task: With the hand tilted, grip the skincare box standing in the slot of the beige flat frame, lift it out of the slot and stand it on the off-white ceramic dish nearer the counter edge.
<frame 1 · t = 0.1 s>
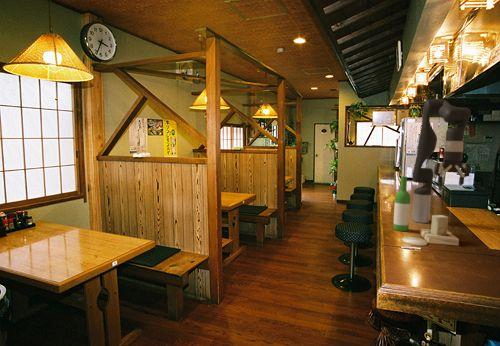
hand: (450, 184, 153), 29 cm above the counter, tool pointing down, fingers open, 8 cm apart
beige flat frame: (438, 239, 163), on the counter
dish: (414, 242, 159), on the counter
skincare box: (438, 239, 163), resting in beige flat frame
wine bottle: (400, 230, 180), on the counter
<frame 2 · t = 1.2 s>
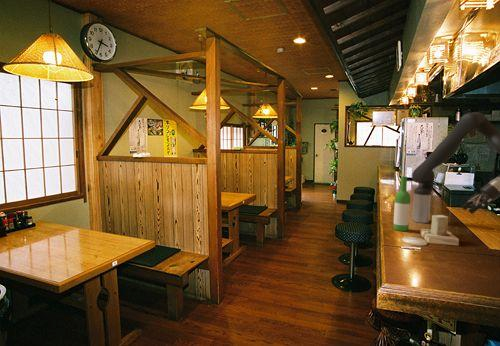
hand: (466, 210, 159), 16 cm above the counter, tool tilted 45°, fingers open, 8 cm apart
nothing on the counter moved.
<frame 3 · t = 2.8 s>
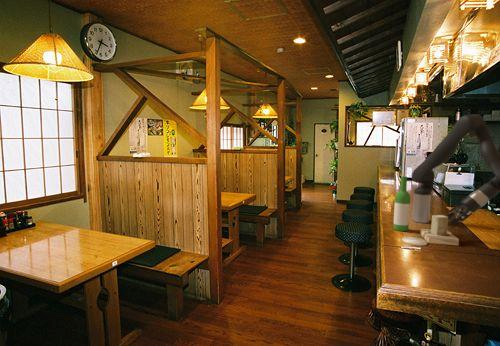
hand: (447, 222, 161), 9 cm above the counter, tool tilted 45°, fingers open, 8 cm apart
nothing on the counter moved.
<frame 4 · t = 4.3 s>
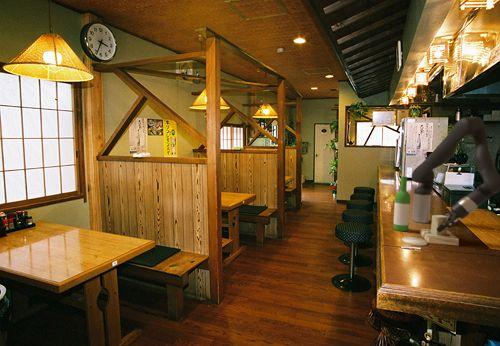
hand: (435, 228, 163), 5 cm above the counter, tool tilted 45°, fingers closed on skincare box, 6 cm apart
skincare box: (438, 239, 163), resting in beige flat frame, touching gripper
everything else where it was.
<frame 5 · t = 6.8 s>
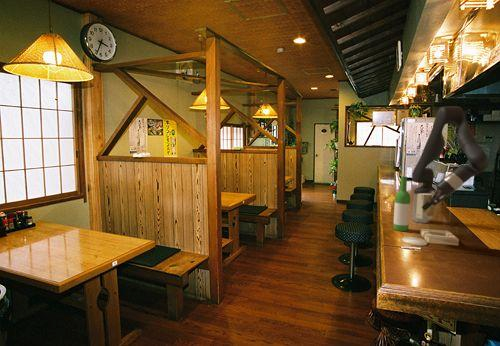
hand: (421, 207, 158), 17 cm above the counter, tool tilted 45°, fingers closed on skincare box, 6 cm apart
skincare box: (424, 218, 158), point 12 cm above the counter, touching gripper
everything else where it was.
when the fingers open (8 cm above the counter, at t = 9.5 s): skincare box drops 1 cm, resting on dish.
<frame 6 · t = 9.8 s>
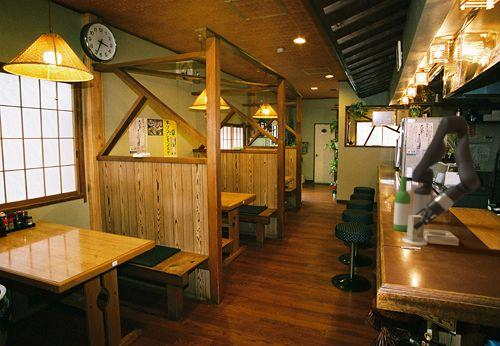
hand: (412, 225, 158), 8 cm above the counter, tool tilted 45°, fingers open, 8 cm apart
skincare box: (414, 240, 159), point 1 cm above the counter, touching dish
everything else where it was.
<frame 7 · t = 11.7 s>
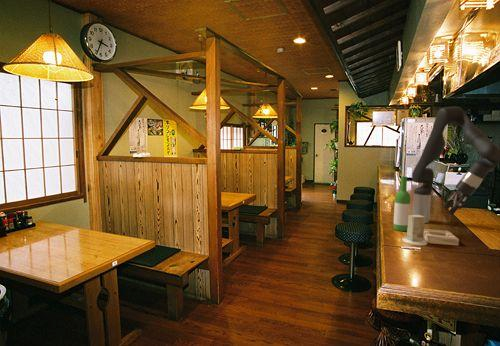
hand: (447, 211, 157), 16 cm above the counter, tool tilted 30°, fingers open, 8 cm apart
nothing on the counter moved.
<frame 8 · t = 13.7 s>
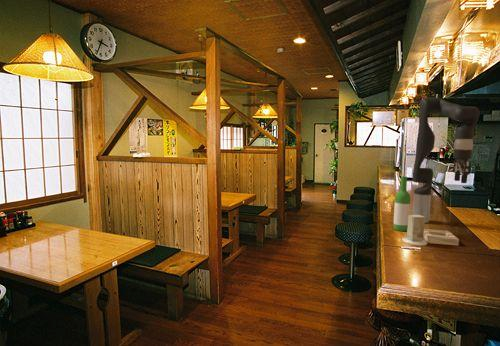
hand: (460, 181, 156), 30 cm above the counter, tool pointing down, fingers open, 8 cm apart
nothing on the counter moved.
at the end: skincare box inside the target area on the dish (0.4 cm from its centre), point 0.8 cm above the dish's base; skincare box tilted 0°; the gripper is holding nothing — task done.
